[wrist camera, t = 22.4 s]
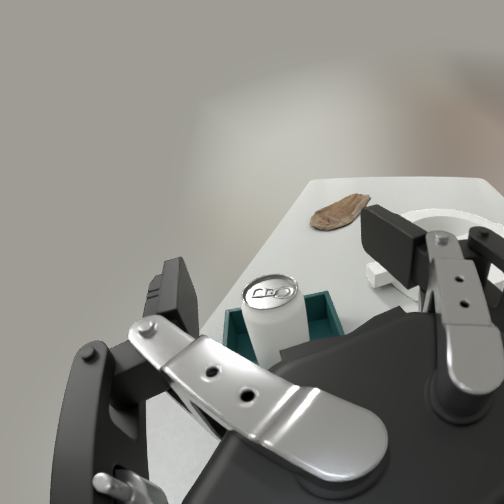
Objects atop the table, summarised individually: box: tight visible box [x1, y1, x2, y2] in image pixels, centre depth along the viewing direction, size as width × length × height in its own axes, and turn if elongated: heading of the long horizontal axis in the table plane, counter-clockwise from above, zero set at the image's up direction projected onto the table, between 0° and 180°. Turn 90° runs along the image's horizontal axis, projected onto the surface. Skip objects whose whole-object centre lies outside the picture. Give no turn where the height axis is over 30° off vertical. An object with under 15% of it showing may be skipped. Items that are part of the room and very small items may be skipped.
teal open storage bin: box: [222, 291, 345, 366], centre depth 32 cm, size 14×14×5 cm
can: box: [241, 274, 310, 370], centre depth 30 cm, size 6×6×12 cm
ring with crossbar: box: [366, 208, 504, 302], centre depth 41 cm, size 28×28×5 cm
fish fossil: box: [310, 193, 370, 231], centre depth 71 cm, size 26×10×1 cm, turn 141°
